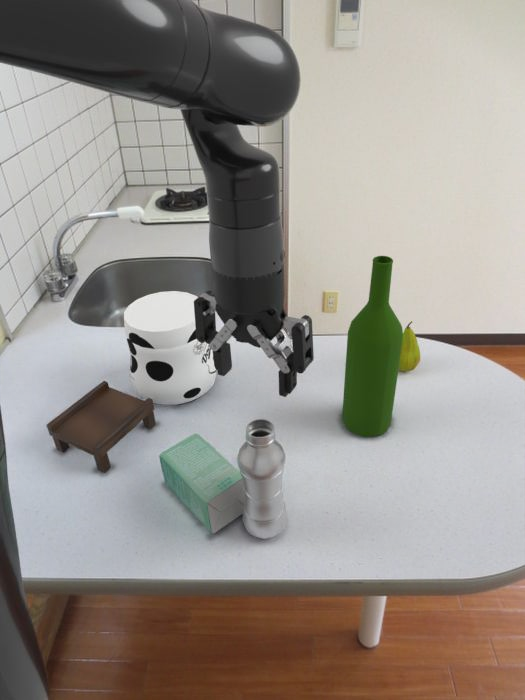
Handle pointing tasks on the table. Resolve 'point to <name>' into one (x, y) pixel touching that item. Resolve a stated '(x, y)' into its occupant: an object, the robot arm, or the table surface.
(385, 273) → the wine bottle
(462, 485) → the table surface
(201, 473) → the box
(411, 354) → the fruit
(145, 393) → the milk container
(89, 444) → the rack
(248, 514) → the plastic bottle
